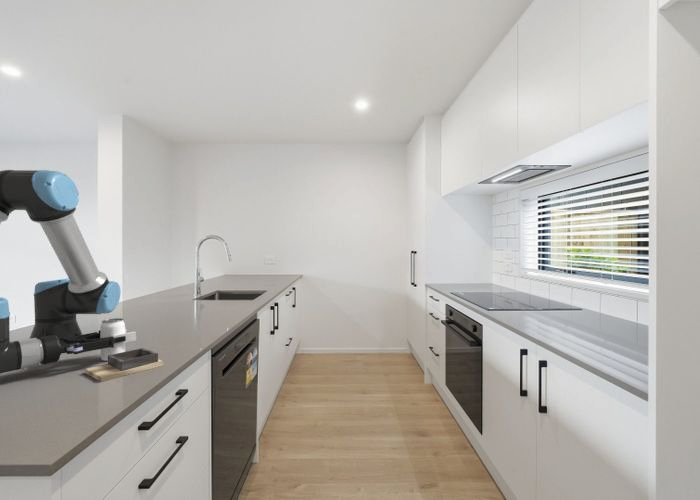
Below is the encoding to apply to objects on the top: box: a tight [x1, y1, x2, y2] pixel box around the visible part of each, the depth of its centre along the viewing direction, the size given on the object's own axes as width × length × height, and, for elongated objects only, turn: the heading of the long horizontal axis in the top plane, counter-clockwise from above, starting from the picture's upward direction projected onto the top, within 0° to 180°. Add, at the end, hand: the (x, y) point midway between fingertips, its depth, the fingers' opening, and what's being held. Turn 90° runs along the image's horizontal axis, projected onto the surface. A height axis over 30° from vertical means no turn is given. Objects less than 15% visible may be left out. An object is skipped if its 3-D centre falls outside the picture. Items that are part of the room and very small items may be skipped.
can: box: [99, 318, 126, 362], centre depth 113 cm, size 6×6×12 cm
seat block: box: [84, 347, 164, 383], centre depth 103 cm, size 11×16×4 cm
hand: (130, 334), depth 117 cm, fingers closed on can, 6 cm apart
